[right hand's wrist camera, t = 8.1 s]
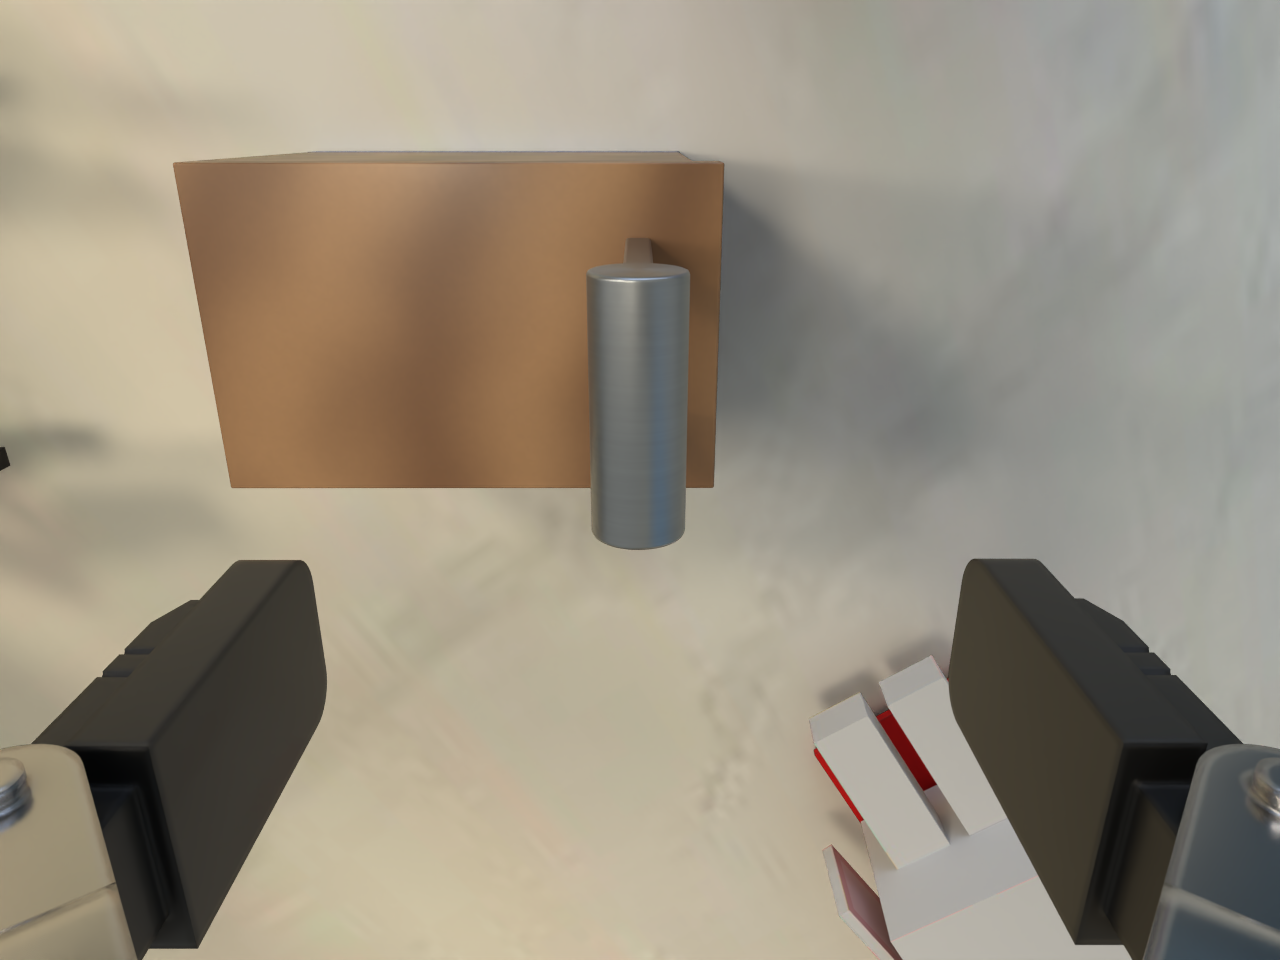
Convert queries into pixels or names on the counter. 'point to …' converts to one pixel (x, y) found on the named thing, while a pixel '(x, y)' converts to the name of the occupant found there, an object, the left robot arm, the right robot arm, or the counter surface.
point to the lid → (465, 326)
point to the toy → (932, 836)
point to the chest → (470, 156)
